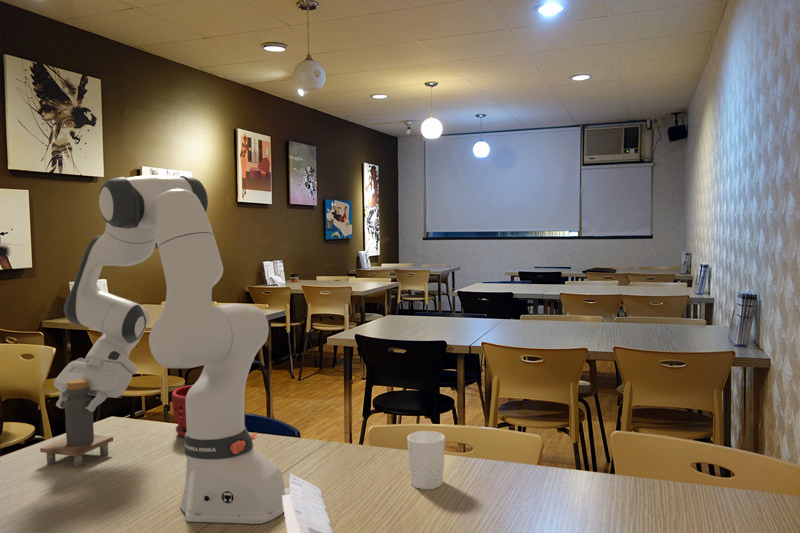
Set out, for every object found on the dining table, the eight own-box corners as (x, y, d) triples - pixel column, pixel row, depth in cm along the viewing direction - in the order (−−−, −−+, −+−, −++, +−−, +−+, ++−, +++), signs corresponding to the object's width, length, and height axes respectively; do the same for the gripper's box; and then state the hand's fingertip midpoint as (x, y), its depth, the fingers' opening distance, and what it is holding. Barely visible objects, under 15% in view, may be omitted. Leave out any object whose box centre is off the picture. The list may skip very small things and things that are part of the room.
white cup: (453, 482, 130) (452, 435, 129) (428, 494, 124) (428, 445, 123) (424, 473, 135) (424, 428, 135) (400, 484, 129) (399, 437, 129)
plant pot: (162, 438, 162) (160, 393, 162) (196, 423, 174) (195, 381, 174) (201, 443, 157) (200, 397, 157) (234, 428, 169) (233, 385, 169)
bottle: (86, 446, 145) (83, 383, 144) (61, 446, 145) (58, 384, 144) (98, 438, 151) (95, 377, 150) (75, 438, 151) (72, 378, 150)
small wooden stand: (113, 452, 152) (113, 436, 151) (78, 469, 141) (77, 452, 141) (78, 449, 155) (77, 433, 155) (41, 464, 144) (40, 448, 144)
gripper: (67, 350, 157) (34, 398, 149) (128, 355, 149) (96, 405, 141) (83, 364, 162) (51, 411, 153) (143, 369, 154) (113, 419, 145)
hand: (73, 408), depth 147 cm, fingers open, 8 cm apart
